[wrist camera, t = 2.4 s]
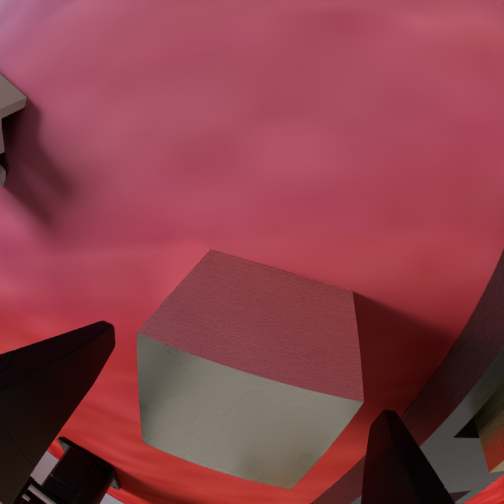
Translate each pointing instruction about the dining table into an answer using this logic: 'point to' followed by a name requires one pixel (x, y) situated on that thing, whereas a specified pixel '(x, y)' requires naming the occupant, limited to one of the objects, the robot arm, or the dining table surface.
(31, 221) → the dining table surface
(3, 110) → the grey rounded piece
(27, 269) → the dining table surface
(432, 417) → the rail
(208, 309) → the zinc block
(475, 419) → the brass block
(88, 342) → the robot arm
